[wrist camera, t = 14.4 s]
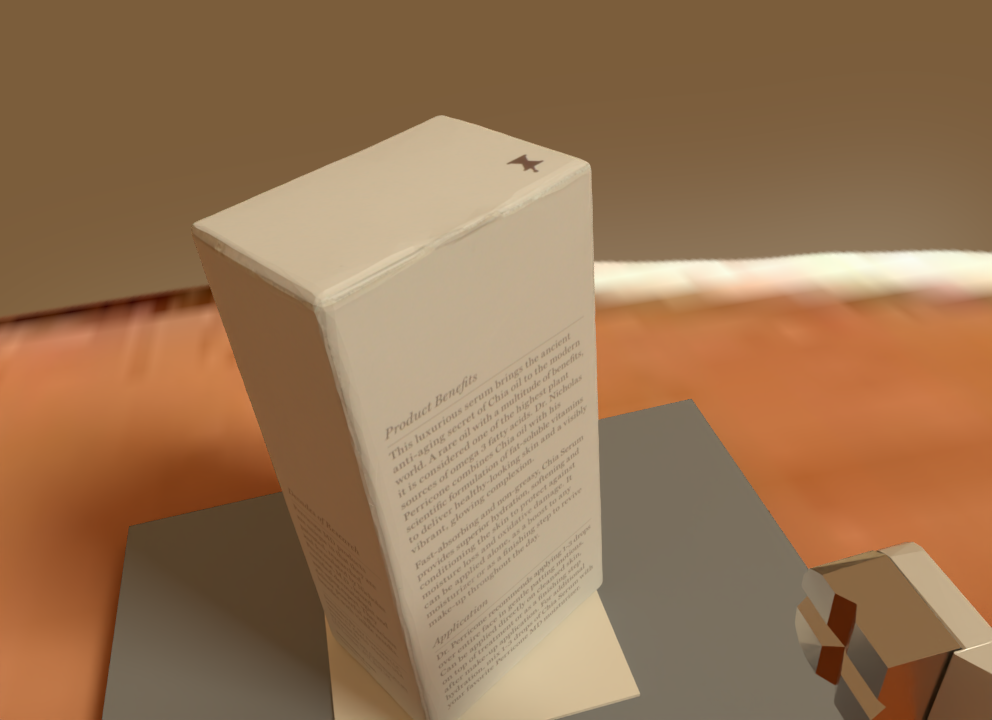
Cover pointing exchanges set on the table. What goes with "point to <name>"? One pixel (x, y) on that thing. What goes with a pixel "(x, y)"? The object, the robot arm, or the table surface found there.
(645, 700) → the rubber mat
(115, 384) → the table surface
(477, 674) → the skincare box
